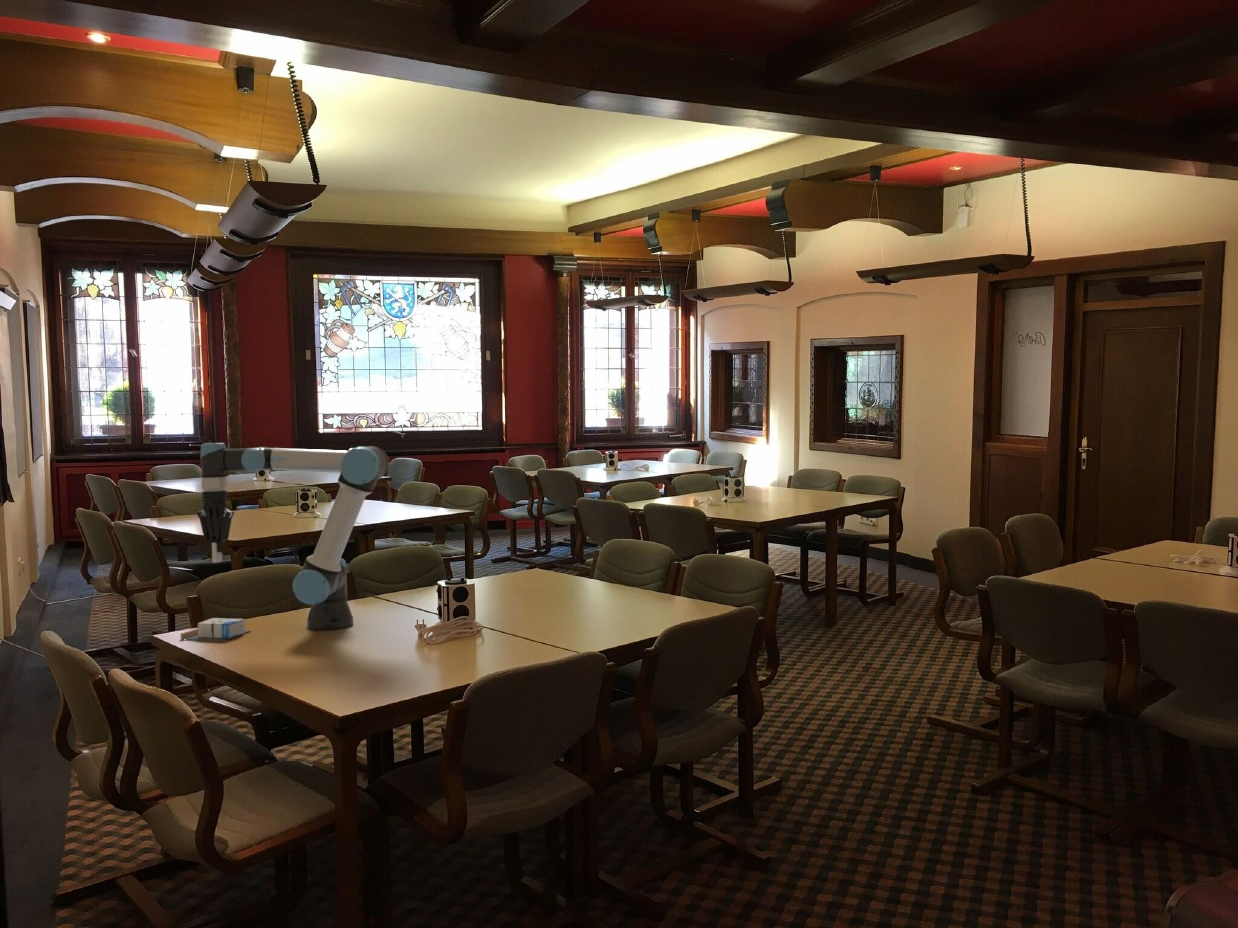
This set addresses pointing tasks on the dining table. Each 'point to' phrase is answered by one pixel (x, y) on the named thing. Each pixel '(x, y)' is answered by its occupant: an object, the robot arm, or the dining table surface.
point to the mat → (194, 637)
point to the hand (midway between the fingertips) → (217, 561)
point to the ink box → (221, 628)
